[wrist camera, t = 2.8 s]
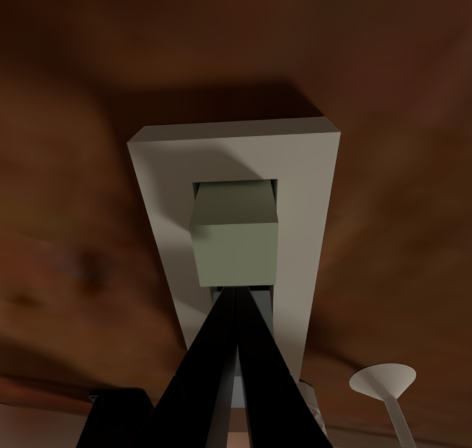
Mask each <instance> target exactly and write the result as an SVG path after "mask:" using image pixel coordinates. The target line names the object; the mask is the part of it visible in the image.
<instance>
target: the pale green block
mask: <svg viewBox="0 0 472 448" xmlns="http://www.w3.org/2000/svg"><path fill="white" fill-rule="evenodd" d="M278 226H279V222H278V217H277V212H276V207H275V201H274V196H273V191H272V186H271V181H270V179H262V180H239V181H215V182H201V183H200V186H199V190H198V194H197V197H196V201H195V205H194V208H193V212H192V215H191V219H190V223H189V230H190V235H191V240H192V246H193V251H194V256H195V261H196V266H197V271H198V276H199V282H200V287H205V286H245V285H276V271H277V249H278Z"/></svg>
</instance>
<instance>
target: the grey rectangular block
mask: <svg viewBox="0 0 472 448" xmlns="http://www.w3.org/2000/svg"><path fill="white" fill-rule="evenodd" d="M251 293H252V295H253V297H254V299H255V301H256V303H257V305H258V307H259V309H260V311H261V313H262V316H263V318H264V320H265V322H266V324H267V326H268V328H269V330H270V332H271V334H272V336H273V338H274V328H273V319H272V310H271V301H270V291H251ZM219 294H220V292H214V295H213V304H212V307H213V305H214V303H215V301H216V300H217V298H218V296H219ZM274 340H275V338H274ZM231 408H245V404H244V396H243V388H242V380H241V372H240V364H239V355H238V345H237V359H236V368H235V377H234V386H233V395H232V404H231Z"/></svg>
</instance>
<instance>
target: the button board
mask: <svg viewBox="0 0 472 448" xmlns="http://www.w3.org/2000/svg"><path fill="white" fill-rule="evenodd" d="M340 133H341V132H340V131H339V130H338V129H337V128H336V127H335V126H334V125H333V124H332V123H331V122H330V121H329V120H328V119H327V118H326V117H307V118H288V119H270V120H251V121H232V122H213V123H195V124H176V125H157V126H144V127H143V128H142V129H141V130H140V131H139V132H138V133H136V134H135V135H134V136H133V137H132V138H131V139H130V140H129V141H128V142H127V145H128V149H129V152H130V155H131V159H132V162H133V166H134V169H135V172H136V176H137V179H138V183H139V186H140V189H141V193H142V196H143V200H144V203H145V206H146V210H147V213H148V217H149V220H150V223H151V227H152V230H153V234H154V237H155V240H156V244H157V247H158V251H159V254H160V258H161V261H162V264H163V268H164V271H165V275H166V278H167V281H168V285H169V288H170V292H171V295H172V298H173V302H174V305H175V309H176V312H177V315H178V319H179V322H180V326H181V329H182V332H183V336H184V339H185V343H186V346H187V349H188V350H189V348H190V346H191V344H192V343H193V341H194V339H195V337H196V335H197V334H198V332H199V330H200V328H201V326H202V325H203V323H204V321H205V319H206V318H207V316H208V314H209V312H210V310H211V309H212V304H213V295H214V292H217V286H205V287H200V282H199V276H198V271H197V266H196V261H195V256H194V251H193V246H192V240H191V235H190V230H189V223H190V219H191V215H192V212H193V208H194V205H195V201H196V197H197V194H198V190H199V186H200V183H201V182H215V181H239V180H262V179H272V191H273V196H274V201H275V207H276V212H277V217H278V222H279V226H278V249H277V271H276V285H270V301H271V310H272V319H273V328H274V338H275V342H276V344H277V346H278V348H279V350H280V352H281V354H282V357H283V359H284V361H285V363H286V365H287V367H288V369H289V371H290V375H292V377H293V379H294V381H295V383H299V378H300V372H301V366H302V360H303V354H304V348H305V342H306V336H307V330H308V324H309V318H310V312H311V306H312V300H313V294H314V288H315V282H316V276H317V270H318V264H319V258H320V252H321V246H322V240H323V234H324V228H325V222H326V216H327V210H328V204H329V199H330V193H331V187H332V181H333V175H334V169H335V163H336V157H337V151H338V145H339V139H340Z"/></svg>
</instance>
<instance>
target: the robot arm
mask: <svg viewBox="0 0 472 448" xmlns="http://www.w3.org/2000/svg"><path fill="white" fill-rule="evenodd" d="M237 345H238V355H239V364H240V372H241V380H242V388H243V396H244V404H245V412H246V420H247V428H248V436H249V444H250V448H333V447H332V445H331V443H330V442H329V440H328V439H327V437H326V436H325V434H324V432H323V431H322V429H321V428H320V426H319V424H318V423H317V421H316V419H315V418H314V416H313V414H312V413H311V411H310V409H309V408H308V406H307V404H306V402H305V400H304V398H303V396H302V395H301V393H300V391H299V389H298V387H297V385H296V383H295V381H294V379H293V377H292V375H290V371H289V369H288V367H287V365H286V363H285V361H284V359H283V357H282V354H281V352H280V350H279V348H278V346H277V344H276V342H275V340H274V338H273V336H272V334H271V332H270V330H269V328H268V326H267V324H266V322H265V320H264V318H263V316H262V313H261V311H260V309H259V307H258V305H257V303H256V301H255V299H254V297H253V295H252V293H251V291H250V289H249V287H248V286H237V287H235V286H225V287H223V289H222V291H221V292H220V294H219V296H218V298H217V300H216V301H215V303H214V305H213V307H212V309H211V310H210V312H209V314H208V316H207V318H206V319H205V321H204V323H203V325H202V326H201V328H200V330H199V332H198V334H197V335H196V337H195V339H194V341H193V343H192V344H191V346H190V348H189V350H188V351H187V353H186V355H185V357H184V359H183V360H182V362H181V364H180V366H179V368H178V369H177V371H176V373H175V375H176V376H173V378H172V380H171V382H170V383H169V385H168V387H167V389H166V390H165V392H164V394H163V395H162V397H161V399H160V400H159V402H158V404H157V406H156V407H155V409H154V407H153V405H152V403H151V401H150V400H149V398H148V396H147V394H146V393H145V392H143V391H104V392H90V394H89V398H90V399H91V401H92V402H93V406H92V408H91V411H90V413H89V416H88V418H87V421H86V423H85V426H84V428H83V431H82V433H81V436H80V439H79V441H78V444H77V446H76V448H227V439H228V430H229V421H230V412H231V404H232V395H233V386H234V377H235V368H236V359H237Z"/></svg>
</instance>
